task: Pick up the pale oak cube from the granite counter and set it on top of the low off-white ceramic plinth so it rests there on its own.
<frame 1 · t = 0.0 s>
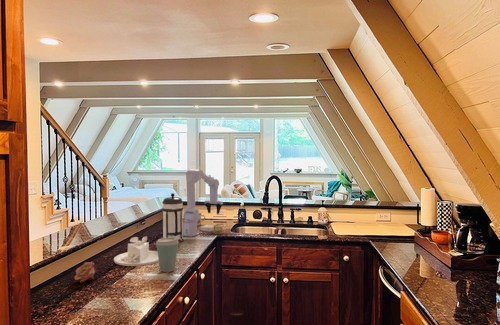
hand: (213, 213, 276), 10 cm above the worktop, tool pointing down, fingers open, 7 cm apart
ceramic plinth: (208, 230, 266), on the worktop
oak cube: (218, 232, 257), on the worktop
disposable coffee cup: (167, 270, 177), on the worktop
coffee press: (173, 241, 233), on the worktop
dish: (139, 259, 196), on the worktop
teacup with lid: (197, 224, 285), on the worktop
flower: (85, 281, 162), on the worktop
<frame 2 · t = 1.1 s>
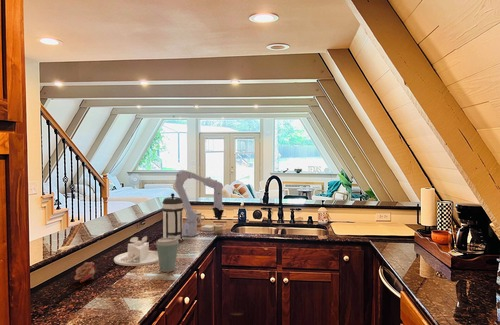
hand: (218, 218, 257), 10 cm above the worktop, tool pointing down, fingers open, 7 cm apart
nothing on the worktop moved.
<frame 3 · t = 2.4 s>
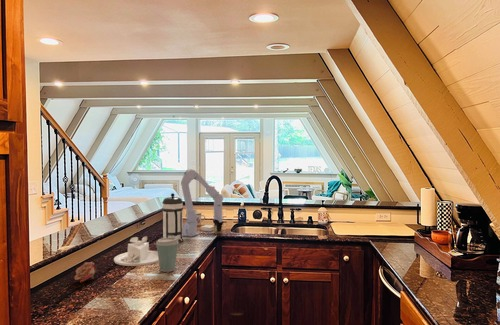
hand: (218, 230, 257), 1 cm above the worktop, tool pointing down, fingers closed on oak cube, 5 cm apart
oak cube: (218, 232, 257), on the worktop, touching gripper
everything else where it was.
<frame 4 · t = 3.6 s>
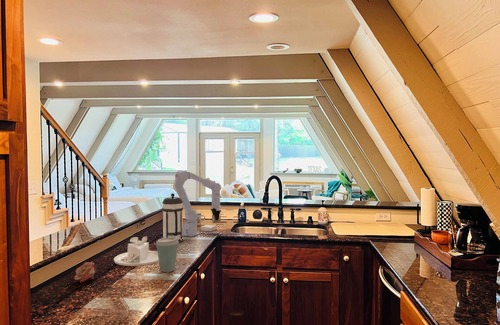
hand: (215, 219, 259), 9 cm above the worktop, tool pointing down, fingers closed on oak cube, 5 cm apart
oak cube: (216, 222, 259), point 7 cm above the worktop, touching gripper
everything else where it was.
when the fingers open (6 cm above the worktop, at t = 5.2 s): oak cube stays where it is, point 3 cm above the worktop.
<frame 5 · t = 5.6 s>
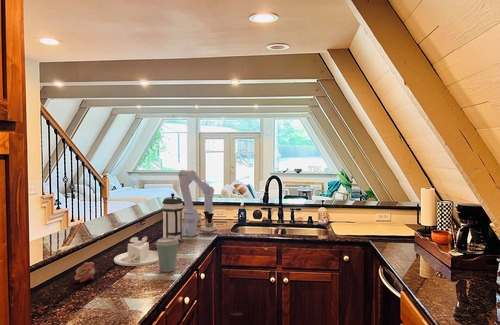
hand: (208, 222, 266), 6 cm above the worktop, tool pointing down, fingers open, 7 cm apart
oak cube: (209, 226, 266), point 3 cm above the worktop
everything else where it was.
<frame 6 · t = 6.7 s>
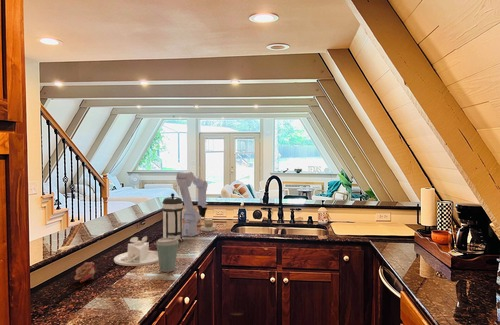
hand: (202, 216, 266), 10 cm above the worktop, tool pointing down, fingers open, 7 cm apart
nothing on the worktop moved.
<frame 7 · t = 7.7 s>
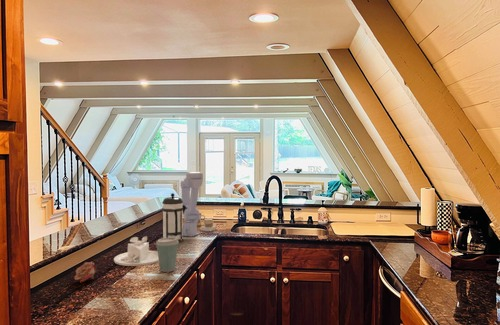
hand: (185, 216, 265), 10 cm above the worktop, tool pointing down, fingers open, 7 cm apart
nothing on the worktop moved.
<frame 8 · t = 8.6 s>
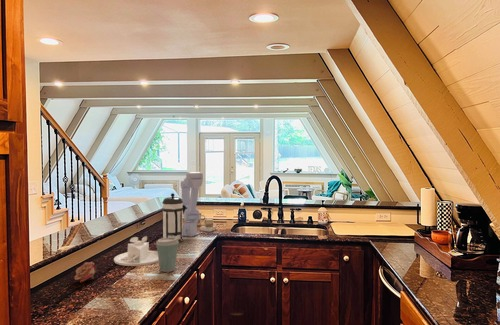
hand: (185, 216, 265), 10 cm above the worktop, tool pointing down, fingers open, 7 cm apart
nothing on the worktop moved.
at the end: oak cube 0.4 cm off-centre on the ceramic plinth, point 3.0 cm above the ceramic plinth's base; oak cube tilted 0°; the gripper is holding nothing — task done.
